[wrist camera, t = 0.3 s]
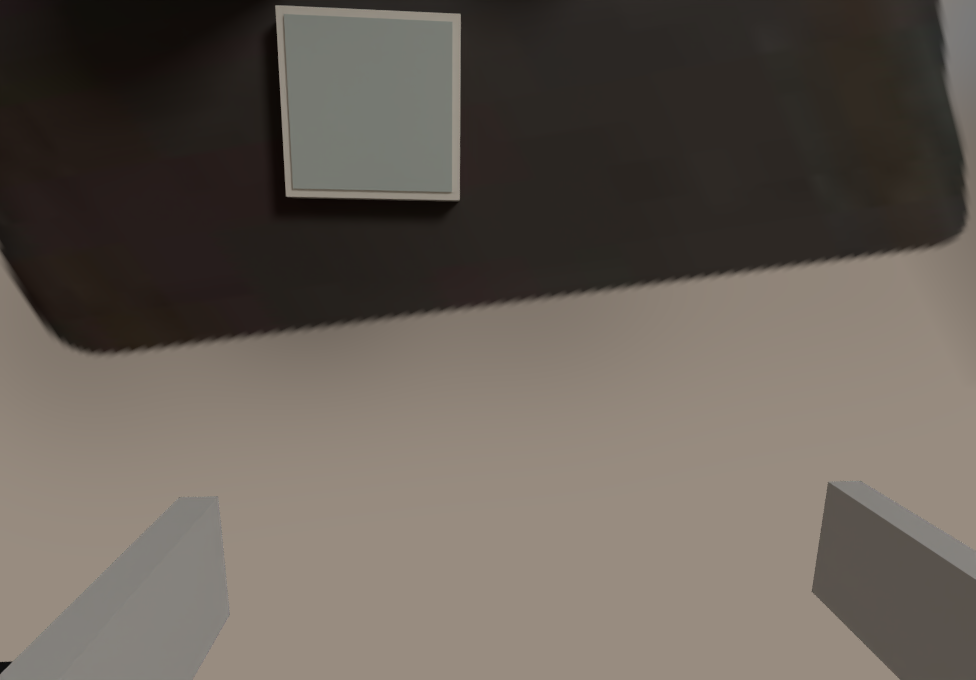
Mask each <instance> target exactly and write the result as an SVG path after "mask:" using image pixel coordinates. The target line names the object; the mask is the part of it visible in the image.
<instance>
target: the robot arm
mask: <svg viewBox="0 0 976 680" xmlns="http://www.w3.org/2000/svg"><path fill="white" fill-rule="evenodd" d="M812 592H813V593H814V594H815V595H816V596H817V597H818V598H819V599H820V600H821V601H822V602H823V603H824V604H825V605H826V606H827V607H828V608H829V609H830V610H831V611H832V612H833V613H834V614H835V615H836V616H837V617H838V618H839V619H840V620H841V621H842V622H843V623H844V624H845V625H846V626H847V627H848V628H849V629H850V630H851V631H852V632H853V633H854V634H855V635H856V636H857V637H858V638H859V639H860V640H861V641H862V642H863V643H864V644H865V645H866V646H867V647H868V648H869V649H870V650H871V651H872V652H873V653H874V654H875V655H876V656H877V657H878V658H879V659H880V660H881V661H882V662H883V663H884V664H885V665H886V666H887V667H888V668H889V669H890V670H891V671H892V672H893V673H894V674H895V675H896V676H897V677H898V678H899V679H900V680H976V551H975V550H973V549H972V548H970V547H968V546H967V545H965V544H963V543H962V542H960V541H959V540H957V539H955V538H954V537H952V536H950V535H949V534H947V533H945V532H944V531H942V530H940V529H939V528H937V527H935V526H934V525H932V524H931V523H929V522H927V521H926V520H924V519H922V518H921V517H919V516H918V515H916V514H914V513H913V512H911V511H909V510H908V509H906V508H904V507H903V506H901V505H899V504H898V503H896V502H894V501H893V500H891V499H890V498H888V497H886V496H885V495H883V494H881V493H879V492H878V491H876V490H875V489H873V488H871V487H870V486H868V485H866V484H865V483H863V482H862V481H841V482H828V487H827V494H826V500H825V507H824V513H823V520H822V527H821V533H820V540H819V547H818V554H817V560H816V567H815V574H814V580H813V588H812ZM229 615H230V612H229V602H228V591H227V581H226V572H225V562H224V551H223V541H222V530H221V520H220V511H219V501H218V496H216V497H179V498H178V499H177V500H176V501H175V502H174V503H173V504H172V505H171V506H170V507H169V508H168V509H167V510H166V511H165V512H164V513H163V514H162V515H161V516H160V517H159V518H158V519H157V520H156V521H155V522H154V523H153V524H152V525H151V526H150V527H149V528H148V529H147V530H146V531H145V532H144V533H143V534H142V535H141V536H140V537H139V538H138V539H137V540H136V541H135V542H134V543H133V544H132V545H131V546H130V547H129V548H127V549H126V551H124V553H122V554H121V555H120V557H118V558H117V559H116V560H115V561H114V562H113V563H112V564H111V565H110V566H109V567H108V568H107V569H106V570H105V571H104V572H103V573H102V574H101V575H100V576H99V577H98V578H97V579H96V580H95V581H94V582H93V583H92V584H91V585H90V586H89V587H88V588H87V589H86V590H85V591H84V592H83V593H82V594H81V595H80V596H79V597H78V598H77V599H76V600H75V601H74V602H73V603H72V604H71V605H70V606H69V607H68V608H67V609H66V610H65V611H64V612H63V613H62V614H61V615H60V616H59V617H58V618H57V619H56V620H55V621H54V622H53V623H52V624H50V626H49V627H47V629H45V631H43V632H42V633H41V634H40V636H38V637H37V638H36V639H35V640H34V641H33V642H32V643H31V644H30V645H29V646H28V647H27V648H26V649H25V650H24V651H23V652H22V653H21V654H20V655H19V656H18V657H17V658H16V659H15V660H14V661H13V662H0V680H193V678H194V676H195V674H196V673H197V671H198V669H199V667H200V666H201V664H202V662H203V660H204V659H205V657H206V655H207V653H208V652H209V650H210V648H211V646H212V645H213V643H214V641H215V639H216V638H217V636H218V634H219V632H220V630H221V629H222V627H223V625H224V624H225V622H226V620H227V618H228V617H229Z"/></svg>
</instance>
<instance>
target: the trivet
mask: <svg viewBox="0 0 976 680" xmlns="http://www.w3.org/2000/svg"><path fill="white" fill-rule="evenodd" d="M275 7H276V25H277V43H278V61H279V79H280V97H281V115H282V133H283V151H284V169H285V187H286V197H290V198H310V199H357V200H404V201H451V202H459V201H460V48H461V14H449V13H428V12H406V11H385V10H364V9H342V8H321V7H300V6H279V5H275Z"/></svg>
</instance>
